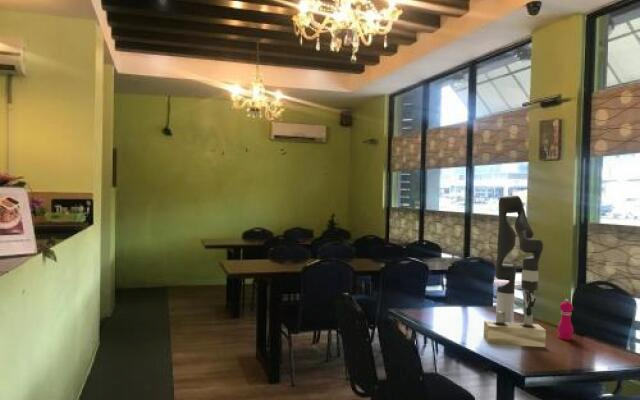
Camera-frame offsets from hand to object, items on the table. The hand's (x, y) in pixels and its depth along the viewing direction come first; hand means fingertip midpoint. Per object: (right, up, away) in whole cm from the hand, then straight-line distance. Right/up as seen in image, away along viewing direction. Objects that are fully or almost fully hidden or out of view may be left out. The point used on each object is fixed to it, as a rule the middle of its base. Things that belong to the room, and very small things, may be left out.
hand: (528, 315), depth 247 cm
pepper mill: (+24, -15, +12) cm, 30 cm away
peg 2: (0, -8, 0) cm, 8 cm away
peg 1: (-13, -7, +2) cm, 15 cm away
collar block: (-7, -13, +1) cm, 15 cm away
